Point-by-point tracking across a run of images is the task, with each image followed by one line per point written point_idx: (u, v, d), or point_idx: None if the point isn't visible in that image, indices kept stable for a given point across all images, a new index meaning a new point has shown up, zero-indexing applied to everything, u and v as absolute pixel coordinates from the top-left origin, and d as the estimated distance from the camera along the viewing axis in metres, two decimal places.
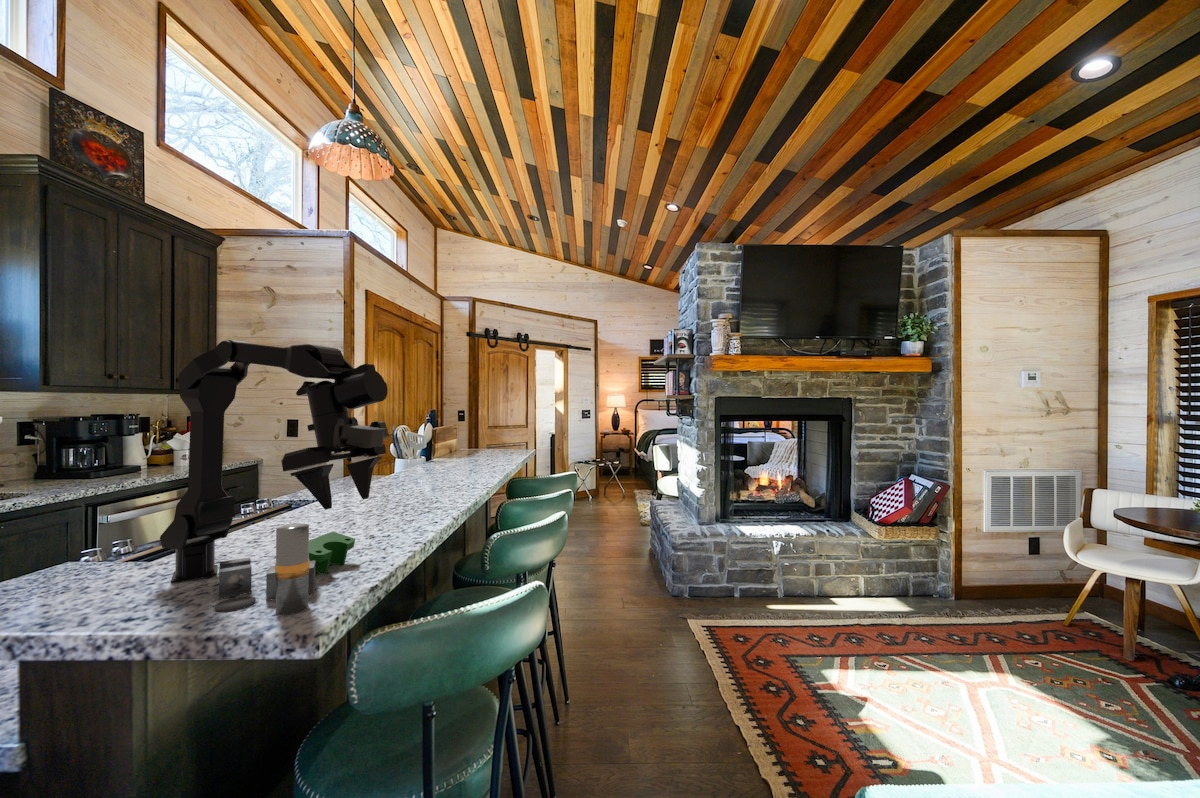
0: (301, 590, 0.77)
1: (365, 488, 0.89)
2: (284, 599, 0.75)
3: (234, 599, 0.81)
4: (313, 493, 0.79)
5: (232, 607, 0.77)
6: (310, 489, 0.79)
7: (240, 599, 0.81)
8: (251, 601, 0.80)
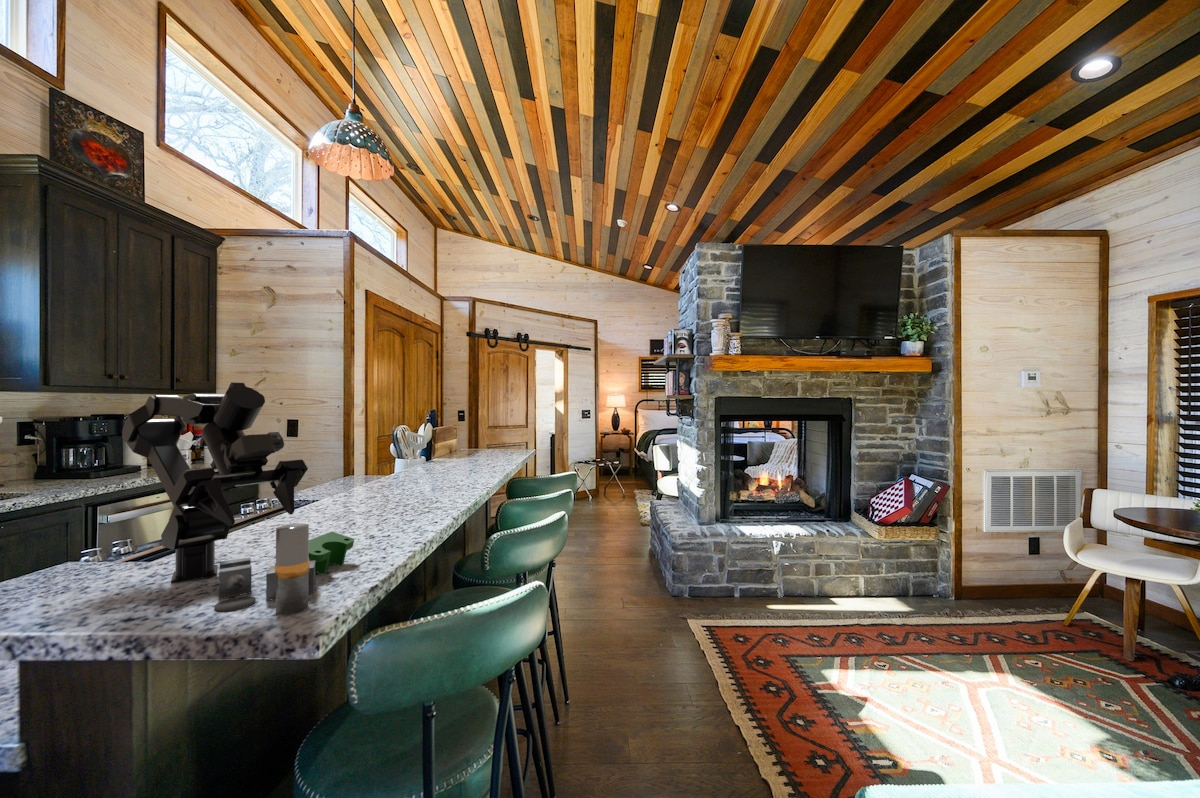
0: (301, 590, 0.77)
1: (288, 503, 0.86)
2: (283, 599, 0.75)
3: (234, 599, 0.81)
4: (215, 515, 0.78)
5: (232, 607, 0.77)
6: (211, 513, 0.78)
7: (240, 599, 0.81)
8: (251, 601, 0.80)
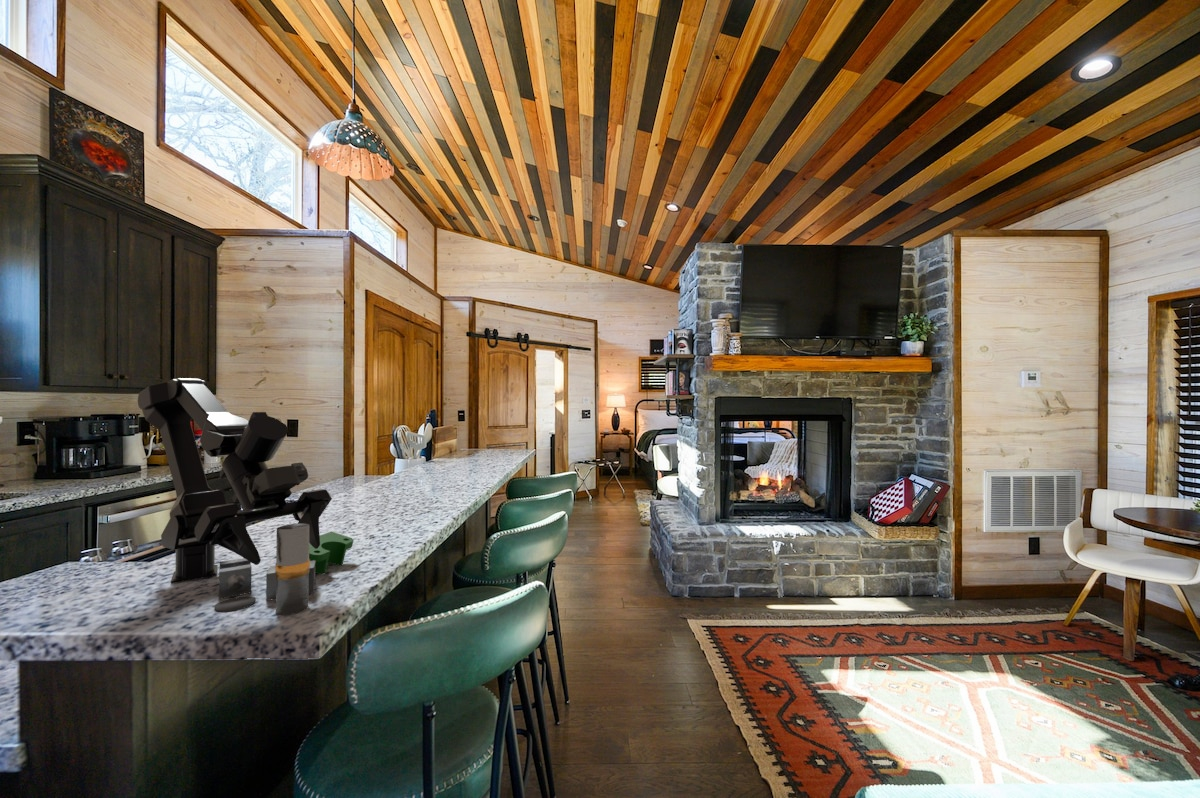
0: (301, 590, 0.77)
1: (313, 536, 0.82)
2: (284, 599, 0.75)
3: (234, 599, 0.81)
4: (239, 553, 0.75)
5: (232, 607, 0.77)
6: (235, 551, 0.75)
7: (240, 599, 0.81)
8: (251, 601, 0.80)
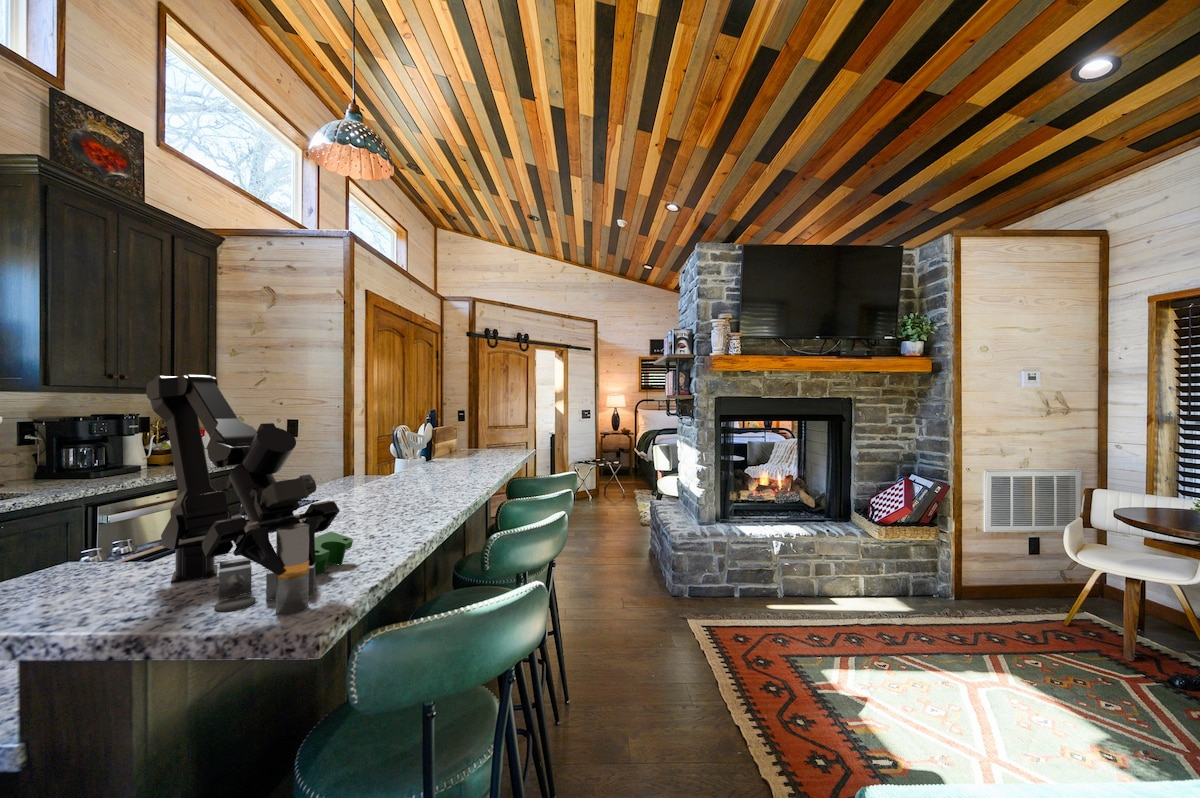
0: (301, 590, 0.77)
1: (309, 553, 0.80)
2: (284, 599, 0.75)
3: (234, 599, 0.81)
4: (262, 564, 0.75)
5: (232, 607, 0.77)
6: (258, 561, 0.75)
7: (240, 599, 0.81)
8: (251, 601, 0.80)
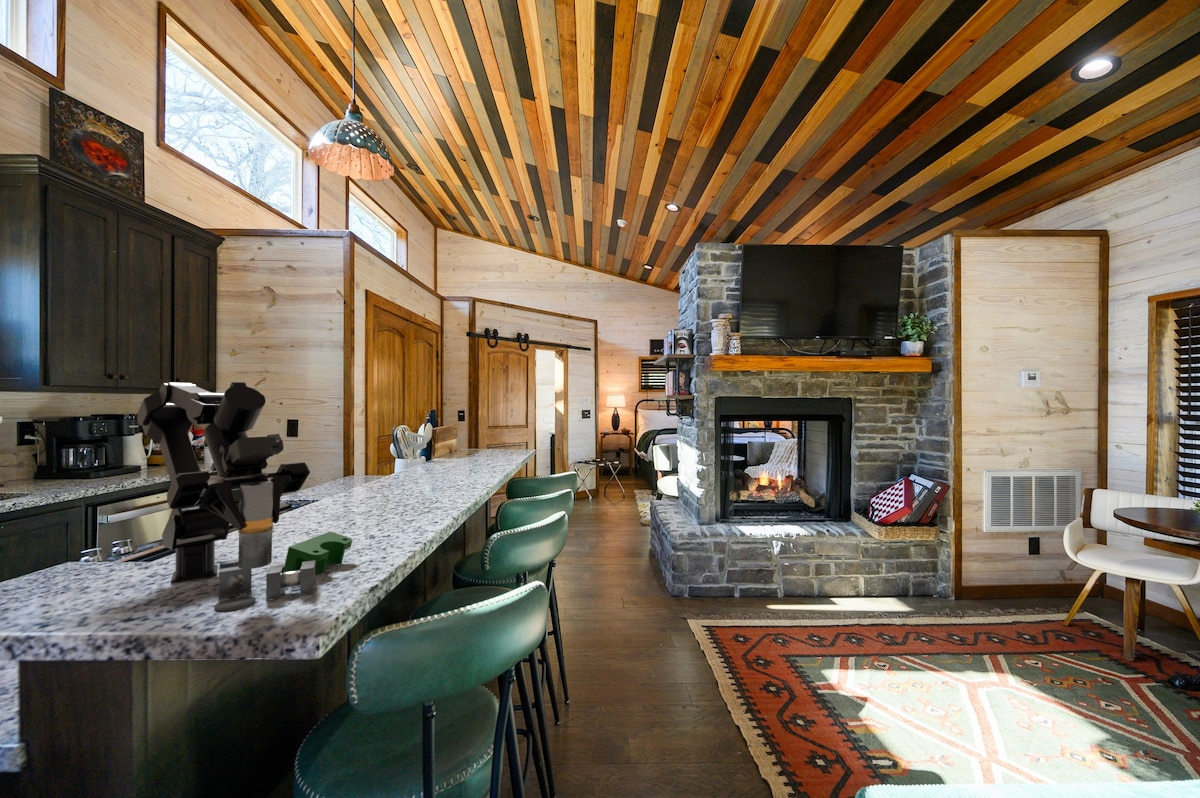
0: (262, 546, 0.78)
1: (273, 511, 0.81)
2: (245, 554, 0.77)
3: (234, 599, 0.81)
4: (225, 518, 0.77)
5: (232, 607, 0.77)
6: (222, 515, 0.77)
7: (240, 599, 0.81)
8: (251, 601, 0.80)
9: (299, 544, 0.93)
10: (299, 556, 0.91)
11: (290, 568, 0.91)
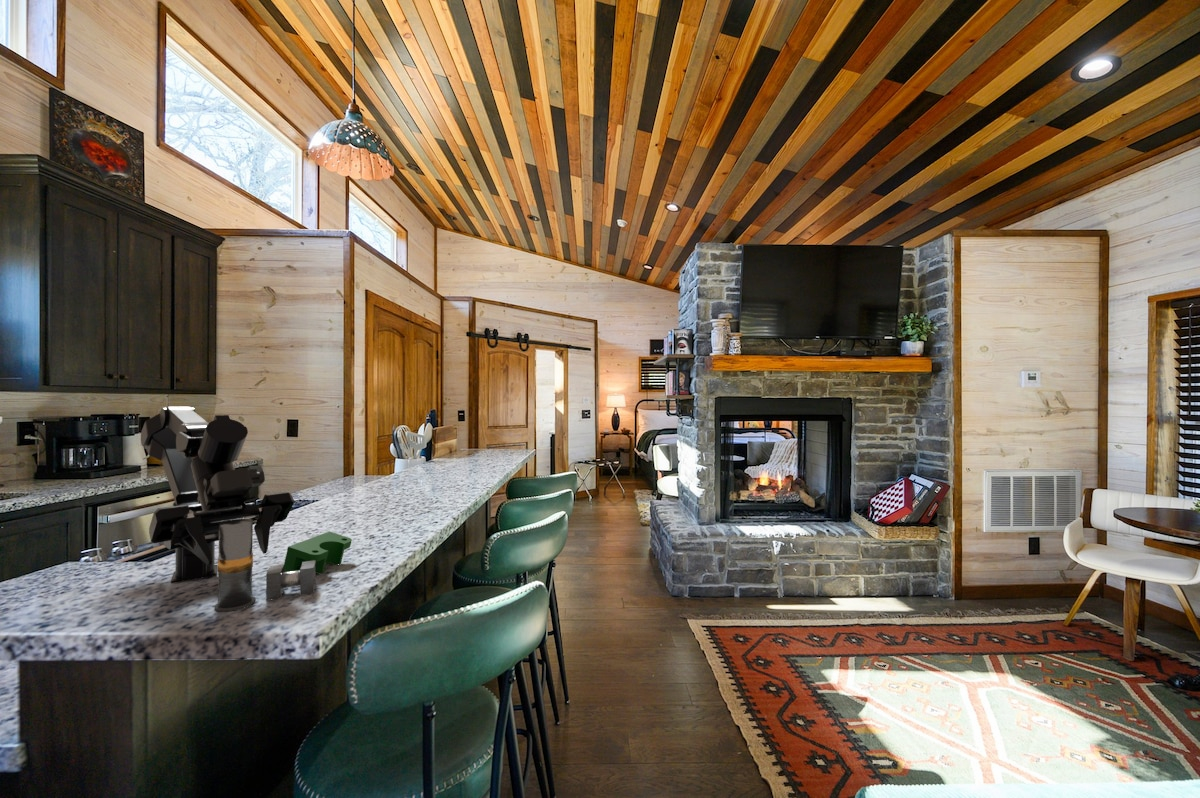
0: (241, 584, 0.78)
1: (262, 541, 0.82)
2: (223, 593, 0.77)
3: None
4: (195, 553, 0.77)
5: None
6: (192, 550, 0.77)
7: None
8: (251, 601, 0.80)
9: (298, 544, 0.93)
10: (298, 556, 0.91)
11: (289, 568, 0.91)
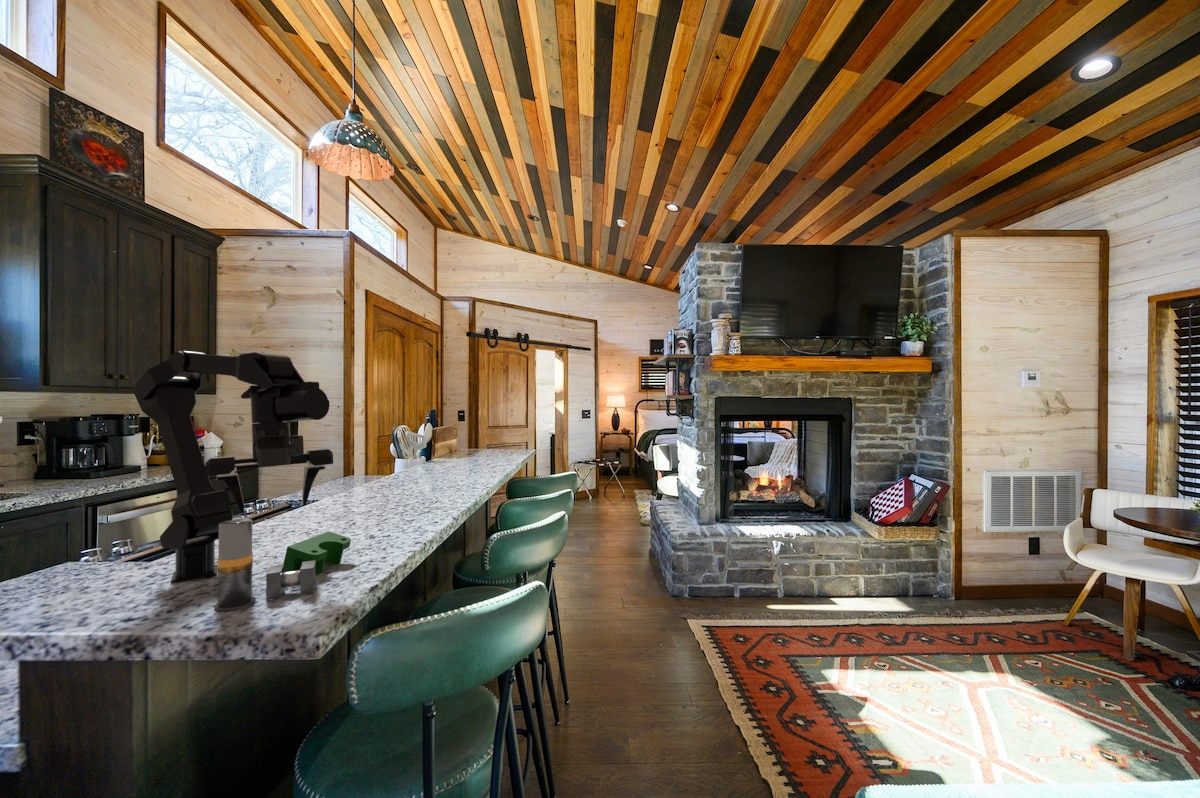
0: (241, 584, 0.78)
1: (303, 495, 0.90)
2: (223, 593, 0.77)
3: None
4: None
5: (232, 607, 0.77)
6: None
7: None
8: (251, 601, 0.80)
9: (298, 544, 0.93)
10: (297, 556, 0.91)
11: (289, 568, 0.91)
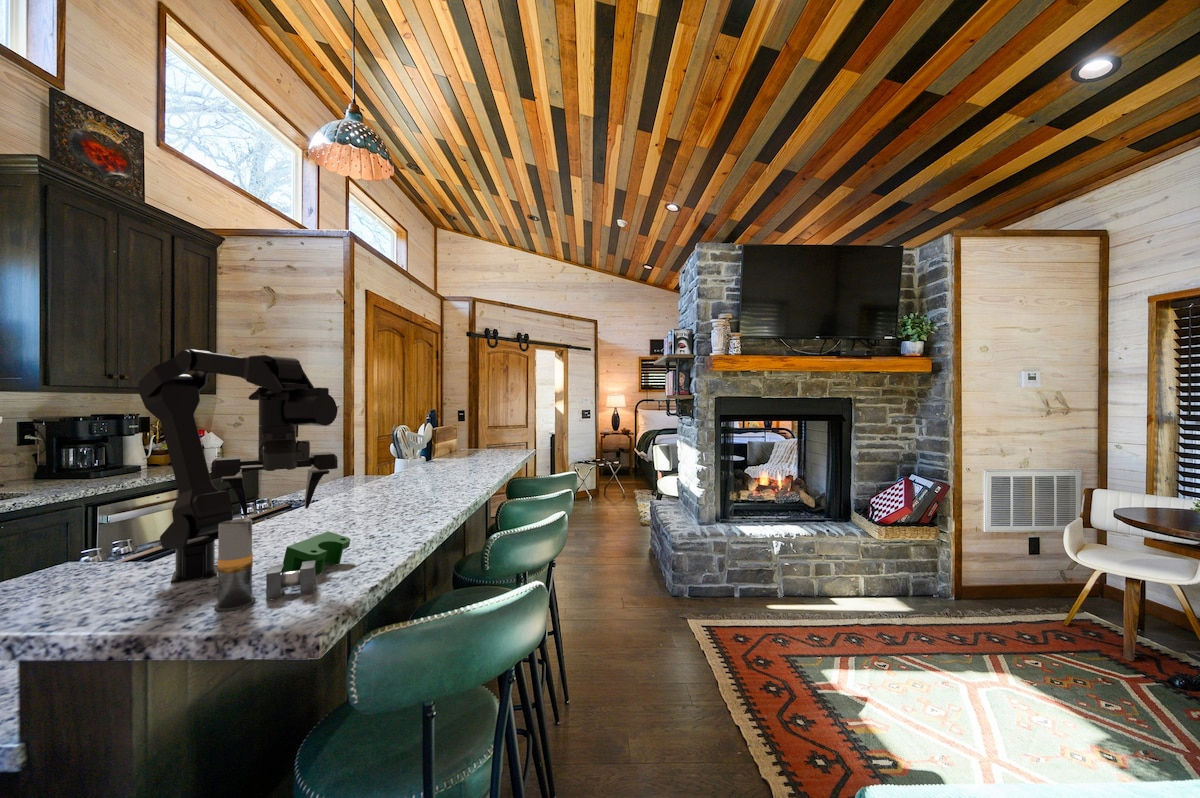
0: (240, 584, 0.78)
1: (306, 499, 0.91)
2: (223, 593, 0.77)
3: None
4: None
5: (232, 607, 0.77)
6: None
7: None
8: (251, 601, 0.80)
9: (297, 544, 0.94)
10: (297, 556, 0.91)
11: (288, 568, 0.91)
